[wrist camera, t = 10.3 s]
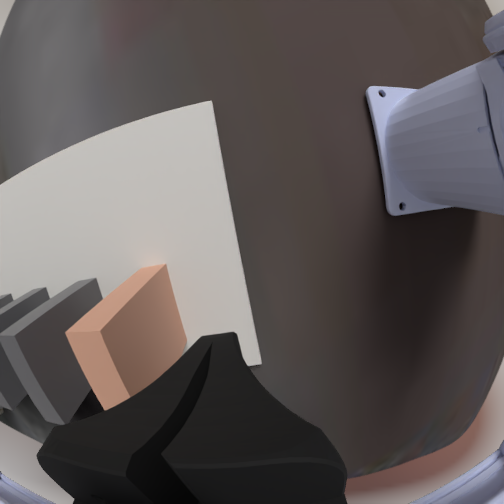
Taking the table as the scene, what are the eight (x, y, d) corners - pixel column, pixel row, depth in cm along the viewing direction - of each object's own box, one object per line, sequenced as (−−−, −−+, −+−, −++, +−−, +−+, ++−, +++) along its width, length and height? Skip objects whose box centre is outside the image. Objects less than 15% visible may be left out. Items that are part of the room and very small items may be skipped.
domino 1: (45, 286, 15) (-29, 334, 8) (69, 348, 16) (12, 410, 9) (33, 289, 15) (-39, 333, 8) (56, 347, 16) (0, 406, 9)
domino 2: (96, 277, 15) (14, 335, 7) (120, 346, 16) (66, 426, 9) (78, 280, 15) (-3, 335, 7) (102, 347, 16) (46, 420, 9)
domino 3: (165, 263, 15) (99, 330, 7) (187, 340, 16) (153, 436, 8) (141, 267, 15) (65, 332, 7) (163, 342, 16) (120, 433, 8)
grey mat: (212, 103, 14) (211, 100, 13) (261, 359, 17) (261, 364, 17) (-44, 218, 14) (-47, 219, 14) (2, 363, 18) (-1, 365, 17)
